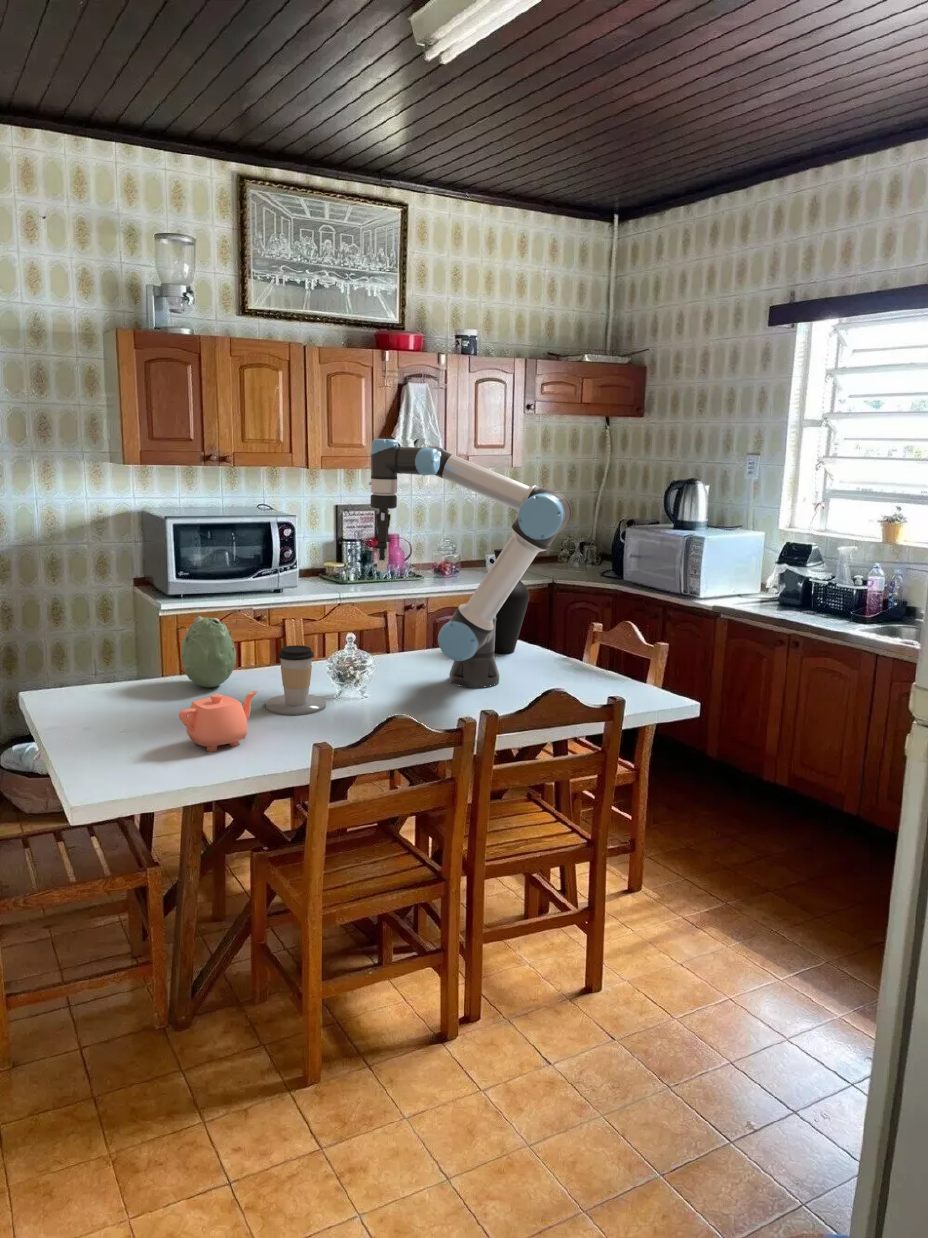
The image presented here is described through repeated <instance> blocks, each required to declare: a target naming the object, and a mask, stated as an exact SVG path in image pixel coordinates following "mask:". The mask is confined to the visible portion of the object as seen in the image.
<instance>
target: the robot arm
mask: <svg viewBox="0 0 928 1238" xmlns="http://www.w3.org/2000/svg"><path fill="white" fill-rule="evenodd" d="M370 449H371V450H370V451H371V452H370V481H369V482H368V486H371V487H370V492H371V493H372V494H371V495H370V507H371V508H372V509H379V511H378V513H376V529H377V543H376V544H375V545H374V549H375V550H377V551H376V552H377V553H376V557H377V558H376V572H381V573H382V572H387V571H388V565H389V544H390V543H391V541H392V540H391V538H390V536H389V528H390V524H391V514H389V513H390V510H392V509H396V508H397V506H398V505H397V504H398V496H397V495H396V494H397V493H398V474H399V475H402V474H403V475H420V476H435V477H438V478H441V479H443V480H446V481H449V482H451V483H453V484H455V485H458V486H460V487H462V488H465V489H467V490H470V491H472V492H473V493H477V494H478V495H481V496H483V497H485V498H488V499H491V500H493V501H495V502H497V503H500V504H502V505H504V506H506V507H509V508H511V509H514V510H516V511H518V513H517V514H518V515H517V517H516V518H515V521H513V524H512V525H511V527H510V528H511V536H510V538H509V539H508V541H507V542H506V544H505V546H504V547H503V548H502V549H503V550H502V551H501V553H500V554H499V556H498V558H497V559H495V560H494V562H493V563H492V565H491V567H490V568H489V569H488V571H487V573H486V574H485V576H483V579H482V581H481V582H480V583H479V585H478V586H477V588H476V589H475V591H474V592H473V593H472V596H471V597H470V599H469V600H468V601H467V602H466V603H462V604H460V605H459V606H458V607H457V608H456V610H455V611H454V612H453V614H452V616H451V618H450V620H449V621H448V622H446V623H444V624H443V625H442V627H441V628H440V629H439V632H438V635H437V641H438V646H439V649H440V651H441V652H442V654H444V656H445V657H447V658H448V659H450V660H452V661H453V662H452V665H451V668H450V670H449V675H448V676H449V678H448V679H449V680H448V681H449V682H450V683H451V684H452V685H455V686H459V685H460V686H459V687H464V686H465V687H466V688H474V687H481V688H485V687H484V686H490V685H494V684H496V685H498V684H499V683H500V672H499V669H498V665H497V662H496V658H495V653H494V650H495V627H496V614H497V613H498V611H499V610H500V608H501V607H502V605H503V604H504V602H505V601H506V599H507V598H508V596H509V595H510V593H511V592H512V590H513V589H514V587H515V586H516V585H517V583H518V582H519V580H521V579H522V577H523V576H524V574H525V572H526V571H527V570H528V568H529V567H530V565H531V564H532V563H533V561H534V559H535V557H536V556H537V555H538V553H540V552H544V551H546V552H547V550H548V549H549V547H550V546H551V545H552V543H553V541H554V540H555V538H556V537H557V536H558V534H559V533H560V532H562V531H563V530H564V529H566V528H567V527H568V525H569V524H570V522H571V520H572V516H573V515H572V513H573V512H572V505H571V503H570V501H569V500H568V499H567V497H566V496H564V495H563V494H562V493H560V492H556V491H554V490H550V489H547V488H543V487H541V486H539V485H536V484H535V485H532V486H529V485H527V484H524V483H522V482H520V481H518V480H514V479H513V478H511V477H508V476H505V475H503V474H500V473H498V472H495V471H493V470H492V469H491V470H490V469H489V468H486V467H484V466H481V465H478V464H477V463H475V462H472V461H469V460H467V459H465V458H461V456H457V455H455V454H452V453H450V452H448V451H447V450H445V448H443V447H439V446H427V447H424V446H423V447H421V446H420V447H417V446H416V447H415V446H413V447H412V446H411V447H410V446H408V447H407V446H406V447H405V446H399V442H398V440H397V439H392V438H374V439H373V440H372V442H371V447H370ZM494 686H495V685H494ZM465 687H464V688H465ZM490 687H491V686H490Z"/></svg>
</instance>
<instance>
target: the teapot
mask: <svg viewBox="0 0 928 1238" xmlns="http://www.w3.org/2000/svg"><path fill="white" fill-rule="evenodd" d="M257 693H258V690H254V691H251V692H248V693H247V694H246V697H244V701H243V705H242V703H241V701H239V700H237V699H236V698H234V697H231V696H228V695H223V694H220V693H213V694H211V695H209V696H210V697H205V698H201V699H197V700H196V699H195V700H194V701H193V702H192V703H191V705H190V708H185V709H182V710H180V711H179V713H178V719H179V720H180V722H181V723H182V724H183V725H184V726H185V727H186V733H187V736H188V738H189V740H191V741H193V742H194V743H195V744H196V745H200V746H201V747H206V751H207V752H216V751H218V747H219V746H223V745H229V746H230V747H239V746H241V743H240V742H239V741H241V740H244V739H246V737H247V734H248V731H249V728H248V720H249V718H250V715H251V712H252V711H251V709H252V707H251V706H252V700H253V698H254V696H255V695H256V694H257Z"/></svg>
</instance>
